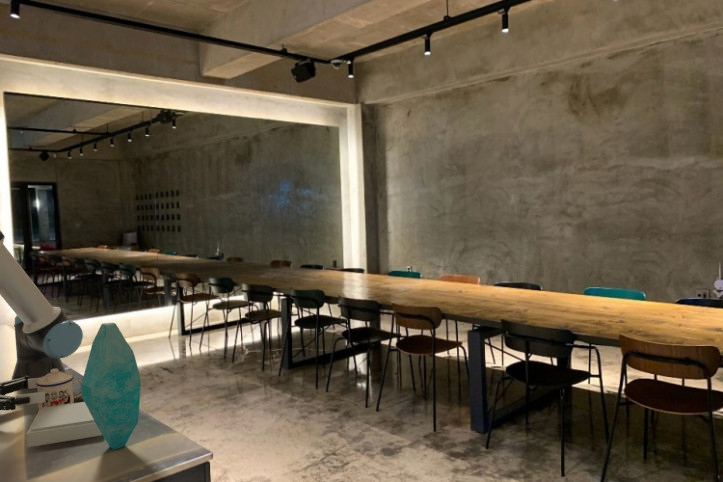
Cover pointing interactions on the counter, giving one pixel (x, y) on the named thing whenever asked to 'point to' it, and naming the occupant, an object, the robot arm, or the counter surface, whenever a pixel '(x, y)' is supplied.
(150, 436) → the counter surface
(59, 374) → the teacup with lid
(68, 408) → the plinth
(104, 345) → the crystal
